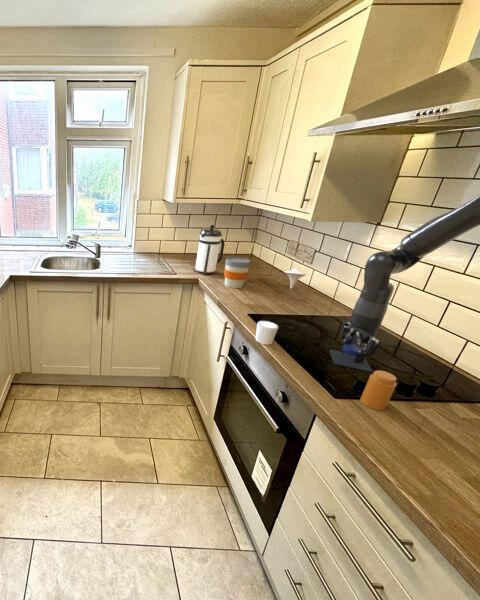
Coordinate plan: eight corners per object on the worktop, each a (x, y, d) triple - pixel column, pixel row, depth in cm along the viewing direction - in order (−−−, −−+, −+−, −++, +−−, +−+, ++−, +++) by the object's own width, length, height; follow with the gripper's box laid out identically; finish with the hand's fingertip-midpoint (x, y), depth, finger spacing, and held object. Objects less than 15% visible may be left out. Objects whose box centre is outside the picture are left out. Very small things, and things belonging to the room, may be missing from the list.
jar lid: (351, 347, 109) (353, 342, 109) (368, 356, 104) (370, 351, 103) (338, 349, 108) (339, 344, 107) (355, 358, 103) (357, 353, 102)
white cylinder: (273, 347, 116) (278, 330, 113) (252, 342, 119) (256, 325, 116) (274, 339, 121) (279, 323, 118) (254, 334, 124) (258, 318, 122)
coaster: (329, 350, 114) (329, 349, 114) (364, 358, 109) (365, 356, 109) (333, 364, 106) (334, 363, 105) (372, 373, 101) (372, 371, 101)
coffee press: (218, 277, 191) (227, 227, 180) (190, 273, 198) (198, 225, 186) (219, 270, 206) (228, 223, 195) (194, 266, 212) (201, 221, 201)
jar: (375, 397, 90) (387, 369, 86) (390, 410, 85) (404, 381, 82) (355, 396, 91) (366, 368, 87) (369, 409, 86) (382, 380, 82)
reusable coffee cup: (234, 281, 185) (239, 256, 180) (250, 288, 174) (256, 261, 169) (216, 282, 182) (221, 257, 177) (231, 290, 171) (236, 263, 165)
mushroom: (278, 284, 180) (283, 264, 175) (300, 287, 176) (306, 266, 171) (281, 290, 171) (286, 269, 167) (304, 293, 167) (310, 271, 163)
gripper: (340, 303, 107) (325, 346, 114) (373, 322, 94) (354, 369, 101) (363, 304, 107) (347, 347, 113) (400, 323, 94) (379, 370, 100)
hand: (351, 357), depth 107 cm, fingers closed on jar lid, 5 cm apart
